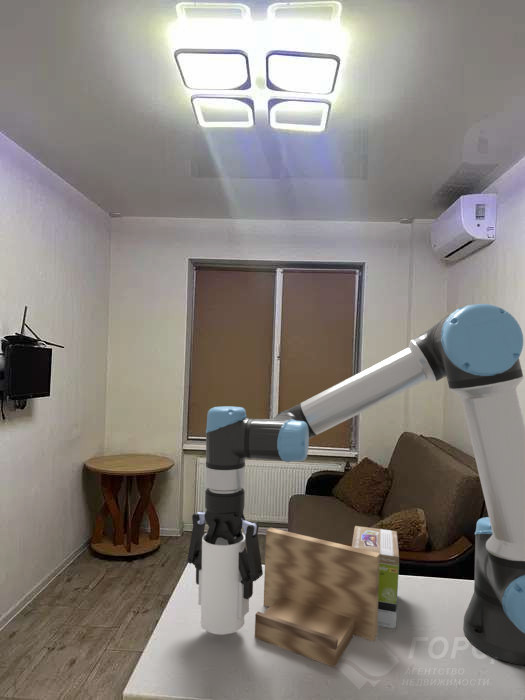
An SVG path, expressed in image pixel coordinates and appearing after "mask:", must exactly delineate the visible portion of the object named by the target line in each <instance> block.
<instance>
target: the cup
mask: <svg viewBox="0 0 525 700" xmlns="http://www.w3.org/2000/svg"><path fill="white" fill-rule="evenodd" d="M206 534H207V532H206V533H204V534H203V537H202V546H201V548H202V582H201V605H200V606H201V607H200V624H201V627H202V629H204V630H205V631H206V632H207V633H209V634H213V635H228V634H233V633H235V632H237V631H239V630H240V629H242V627H243V626H244V624H245V616H243V617H242V618H238V582H239V581H240V580H241V579H242V577H241V574H240V571H239V568H238V567H239V552H242V551H243V550H244V548H246V534H244V532H242V534H243V540H242V541H240V542H238V543H236V544H231V545H229V543H228V540H225V539H223V538H217V540H216V542H215V545H214V544H210V543H208V542H206V541H205V539H206V537H205V536H206ZM235 538H236V536H235V537H234V539H235Z"/></svg>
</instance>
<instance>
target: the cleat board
mask: <svg viewBox="0 0 525 700" xmlns="http://www.w3.org/2000/svg"><path fill="white" fill-rule="evenodd" d="M264 549H265V553H264V555H265V557H264V576H263V577H264V581H263V582H264V583H263V588H264V589H263V606H265V607H268V608H267V609H266V610H265V611H264V612H261V611H257V612H256V613H255V617H254V618H255V619H254V620H255V621H254V638H255V639H257V640H259V641H262V642H265V643H268V644H271V645H274V646H277V647H279V648H282V649H283V650H286V651H289V652H291V653H295V654H297V655H301V656H303V657H306V658H308V659H310V660H314V661H315V662H319V663H322V664H325V665H328V666H329V667H333V668H336V666H337V665H338V663H339V662H340V659H341V658H342V656H343V654H344V653H345V651H346V649H347V648H348V646H349V644H350V642H351V641H352V639H353V637H354V636H356V637H359V638H362V639H366V640H367V641H368V640H369V641H371V640H372V642H375V641H376V639H377V637H378V626H377V624H378V592H379V561H380V553H376V552H372V551H368V550H364V549H359V548H355V547H352V545H351V546H350V545H345V544H342V543H338V542H333V541H328V540H325V539H319V538H315V537H312V536H309V535H303V534H300V533H299V534H298V533H296V532H291V531H287V530H286V531H285V530H282V529H278V528H273V527H269V528H268V529H266V530H265V548H264Z"/></svg>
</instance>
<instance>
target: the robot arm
mask: <svg viewBox="0 0 525 700" xmlns="http://www.w3.org/2000/svg"><path fill="white" fill-rule="evenodd" d="M523 346H524V335H523V331H522V328H521V326H520V324H519V322H518V320H517V319H516V318H515V317H514V316H513V315H512V314H511V313H510V312H508V311H507V310H505V309H503V308H501V307H500V306H497V305H493V304H489V303H478V304H477V303H476V304H468V305H466V306H462V307H459V308H457V309H455V310H454V311H453V312H451V313H450V314H448V315H446V316H444V317H443V318H441V319H440V321H438V322H437V323H436V324H434V325H433V326H432V327H430V328H429V329H428V330H426V331H424V332H422V334H420V335H418V336H416V337H415V338H412V339H410V341H409V344H408V347H406V348H404V349H402V350H400V351H398V352H395V354H392V355H391V356H389V357H386V358H385V359H383V360H381V361H379V362H377V363H375V364H373V365H371V366H370V367H368V368H366V369H363V370H361V371H359V372H357V373H356V374H354V375H352V376H350V377H348V378H346V379H344V380H342V381H340V382H338V383H337V384H334V385H333V386H331V387H329V388H327V389H325V390H323V391H321V392H319V393H317V394H316V395H313V396H312V397H310V398H307V399H306V400H304V401H302V402H300V403H299V404H296V405H294V406H292V407H290V408H289V409H287V410H286V409H285V410H283V411H281V412H280V413H278V414H277V415H276V416H275V417H273V418H272V419H270V418H269V419H268V418H251V417H248V416H247V411H246V408H244V407H242V406H234V405H233V406H230V405H229V406H227V405H226V406H214V407H212V408H210V409H209V410H208V411H207V413H206V414H207V417H206V430H205V461H206V462H205V482H204V483H205V484H204V485H205V487H206V489H205V490H204V493H205V494H204V495H205V498H204V506H205V509H206V511H205V512H204V511H203V510H199V511H198V512H195V513H193V514H192V515H191V518H192V530H191V535H190V542H189V547H188V554H187V559H186V561H187V563H189V565H191V564H192V565H193V566H194V567H195V583H196V585H198V602H197V603H198V605H199V606H201V582H202V537H203V535H204V534H206V533H207V534H206V536H205V537H206V539H205V541H206V542H208V543H210V544H214V545H215V542H216V540H217V538H223V539H225V540H228V543H229V545H231V544H236V543H238V542H240V541H242V540H243V534H244V535H245V548H244V550H243V551H242V552H239V567H238V568H239V571H240V574H241V577H242V579H241V580H240V581H239V582H238V618H242V617H243V616H244V617H246V615H247V614H248V613H249V612H250V599H251V598H252V596H253V593H254V582H256V581H257V580H259V579H260V578H261V577H262V576H263V575H264V574H263V573H264V571H263V565H262V558H261V550H260V544H259V537H258V534H259V528H260V527H259V525H260V524H259V522H257V521H254V522H250V521H247V520H246V518H245V514H244V511H245V498H246V497H245V496H246V495H245V494H246V492H245V489H244V487H245V478H246V476H245V475H246V474H245V473H246V472H245V471H246V459H249V460H252V459H253V460H264V461H265V460H267V461H279V462H286V463H290V462H304V461H305V460H306V459H307V458H308V455H309V454H308V452H309V447H310V446H309V444H310V439H312V438H314V437H315V436H318V435H319V434H321V433H323V432H326V431H327V430H329V429H332V428H334V427H336V426H338V425H340V424H342V423H343V422H345V421H349V419H352V418H354V417H356V416H358V415H360V414H362V413H364V412H365V411H368V410H370V409H372V408H374V407H375V406H378V405H380V404H381V403H384V402H385V401H388V400H390V399H392V398H394V397H396V396H398V395H400V394H402V393H404V392H406V391H408V390H410V389H412V388H414V387H417V386H418V385H421V384H422V383H424V382H426V381H428V382H433V383H436V382H437V381H440V380H442V379H443V378H446V379H447V383H448V388H449V391H451V392H452V393H454V394H455V395H457V396H459V398H460V399H461V403H462V408H463V412H464V416H465V420H466V425H467V429H468V435H469V438H470V441H471V447H472V450H473V455H474V460H475V463H476V468H477V471H478V476H479V480H480V486H481V489H482V494H483V497H484V498H483V499H484V501H485V502H484V503H485V506H486V510H487V516H486V517H481V518H479V519H478V520H477V522H476V526H475V527H476V528H475V532H474V536H475V538H474V539H475V541H474V542H475V546H474V550H475V551H474V579H473V581H474V585H473V586H474V587H473V589H474V590H473V594H472V597H471V599H470V601H469V603H468V606H467V608H466V610H465V613H464V616H463V627H462V629H463V633H464V636H465V637H466V639H467V640H468V641H469V642H470V643H471V644H472V645H473V646H474V647H476V648H477V649H479V650H480V651H481V652H483V653H485V654H486V655H489V656H490V657H493V658H495V659H497V660H500V661H502V662H507V663H510V664H515V665H518V666H519V665H520V666H525V421H524V418H523V414H522V409H521V405H520V401H519V397H518V392H517V387H518V386H519V385H520V383H521V382H522V380H523V379H524V373H523V370H522V365H521V360H520V356H521V354H522V351H523ZM206 524H207V526H208V530H207V532H206V533H204V532H205V526H206ZM242 528H243V532H242ZM242 533H243V534H242ZM235 536H236V538H235V539H234V537H235Z"/></svg>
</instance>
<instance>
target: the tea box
mask: <svg viewBox="0 0 525 700" xmlns="http://www.w3.org/2000/svg"><path fill="white" fill-rule="evenodd" d="M353 529H354V530H353V536H352V540H351V541H352V542H351V547H355V548H359V549H364V550H368V551H372V552H376V553H380V561H379V592H378V624H377V627H383V628H388V629H396V626H397V614H398V613H397V612H398V611H397V609H398V595H399V594H398V589H399V574H400V573H399V572H400V571H399V570H400V552H399V543H398V542H399V541H398V532H397V531H396V530H389V529H381V528H376V527H375V528H374V527H367V526H359V525H355V526H354V528H353Z"/></svg>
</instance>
